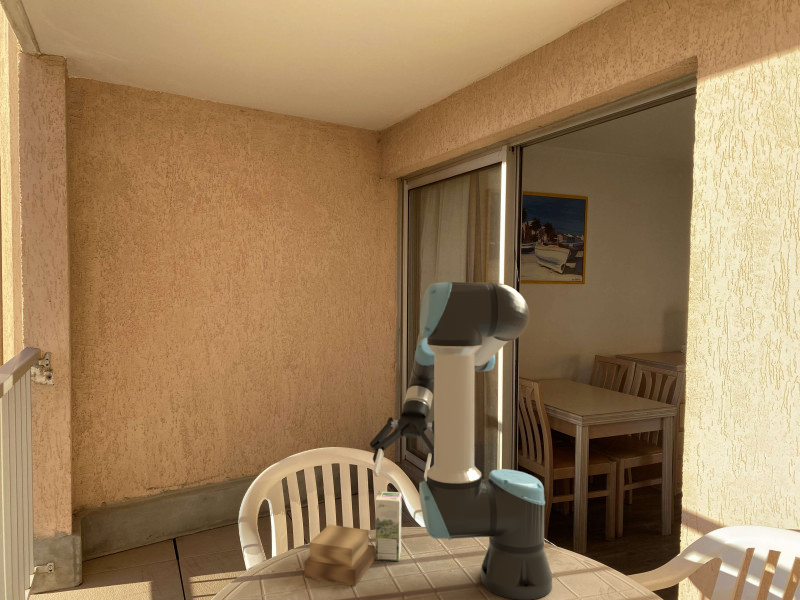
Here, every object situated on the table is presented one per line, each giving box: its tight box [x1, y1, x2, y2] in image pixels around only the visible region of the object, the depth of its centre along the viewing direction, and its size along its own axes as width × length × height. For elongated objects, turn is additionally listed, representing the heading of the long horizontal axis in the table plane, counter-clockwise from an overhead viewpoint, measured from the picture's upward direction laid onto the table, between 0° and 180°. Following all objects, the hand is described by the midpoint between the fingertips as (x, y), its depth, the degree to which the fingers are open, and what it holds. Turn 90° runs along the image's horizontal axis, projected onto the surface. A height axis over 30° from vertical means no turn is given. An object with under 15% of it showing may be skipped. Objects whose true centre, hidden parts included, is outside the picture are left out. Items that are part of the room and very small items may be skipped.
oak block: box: [309, 524, 369, 567], centre depth 128 cm, size 10×10×4 cm
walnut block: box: [303, 544, 376, 587], centre depth 128 cm, size 12×12×4 cm
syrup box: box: [374, 491, 402, 562], centre depth 135 cm, size 6×6×14 cm
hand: (400, 476), depth 144 cm, fingers open, 13 cm apart
